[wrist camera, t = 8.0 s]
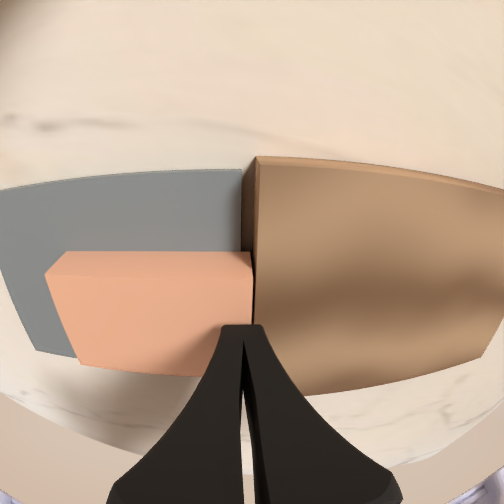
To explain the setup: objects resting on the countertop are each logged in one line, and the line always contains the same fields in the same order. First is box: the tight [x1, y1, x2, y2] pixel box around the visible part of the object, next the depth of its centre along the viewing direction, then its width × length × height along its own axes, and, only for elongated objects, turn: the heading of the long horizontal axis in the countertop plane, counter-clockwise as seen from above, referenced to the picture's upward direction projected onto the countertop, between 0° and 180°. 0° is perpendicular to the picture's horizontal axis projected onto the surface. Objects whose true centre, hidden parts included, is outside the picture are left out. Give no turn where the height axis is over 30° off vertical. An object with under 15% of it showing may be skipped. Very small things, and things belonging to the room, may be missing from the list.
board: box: [251, 156, 504, 396], centre depth 12 cm, size 11×16×2 cm
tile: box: [44, 251, 253, 377], centre depth 11 cm, size 8×5×2 cm, turn 88°
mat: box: [0, 169, 242, 358], centre depth 12 cm, size 10×13×1 cm
